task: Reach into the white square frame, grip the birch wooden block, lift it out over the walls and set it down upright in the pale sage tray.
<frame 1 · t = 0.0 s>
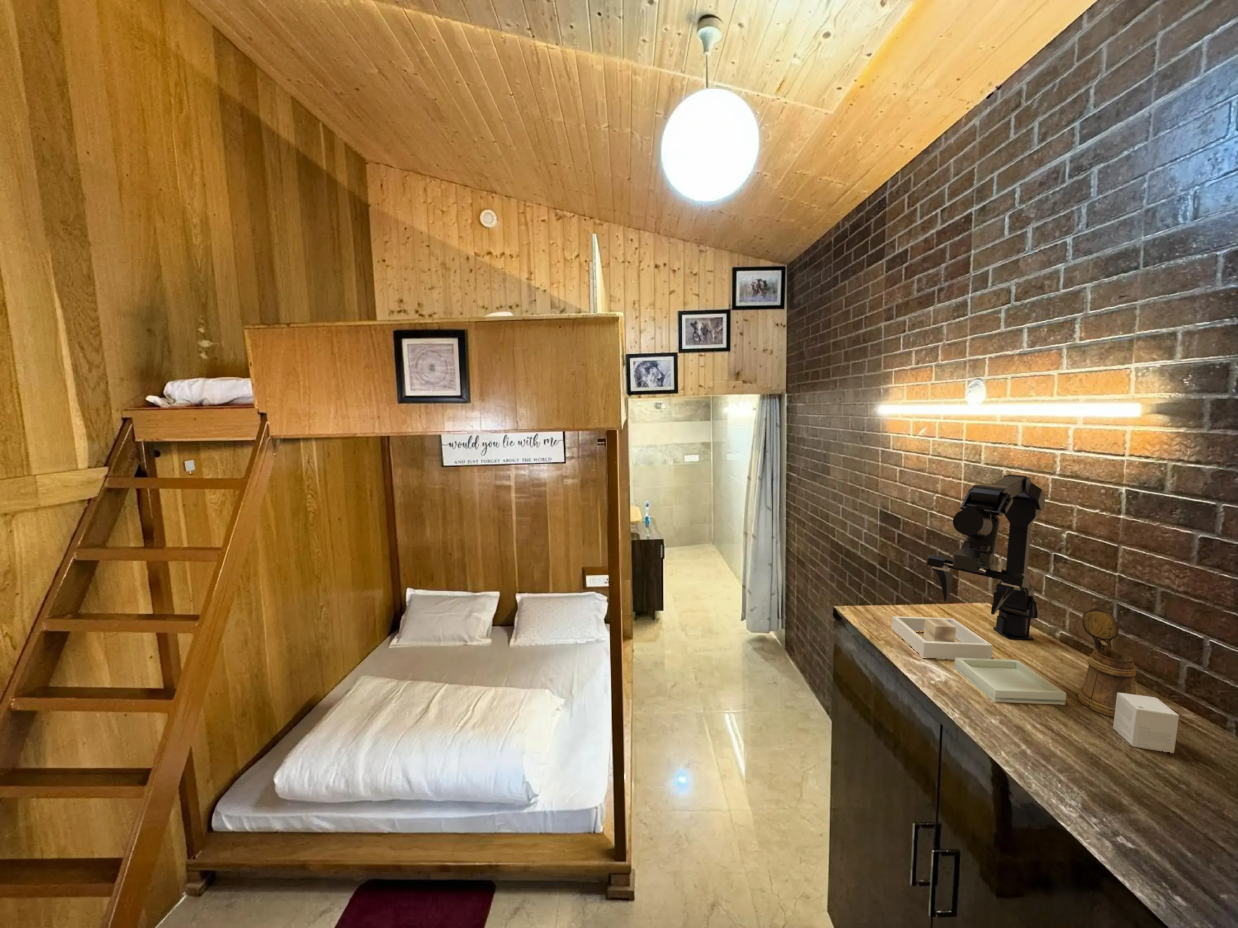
hand: (968, 607, 116), 15 cm above the cabinet, tool pointing down, fingers open, 9 cm apart
sage tray: (1006, 684, 113), on the cabinet
product box: (1142, 741, 94), on the cabinet
wooden mug: (1102, 702, 107), on the cabinet
birch block: (938, 645, 132), resting in white square frame
white square frame: (938, 644, 132), on the cabinet
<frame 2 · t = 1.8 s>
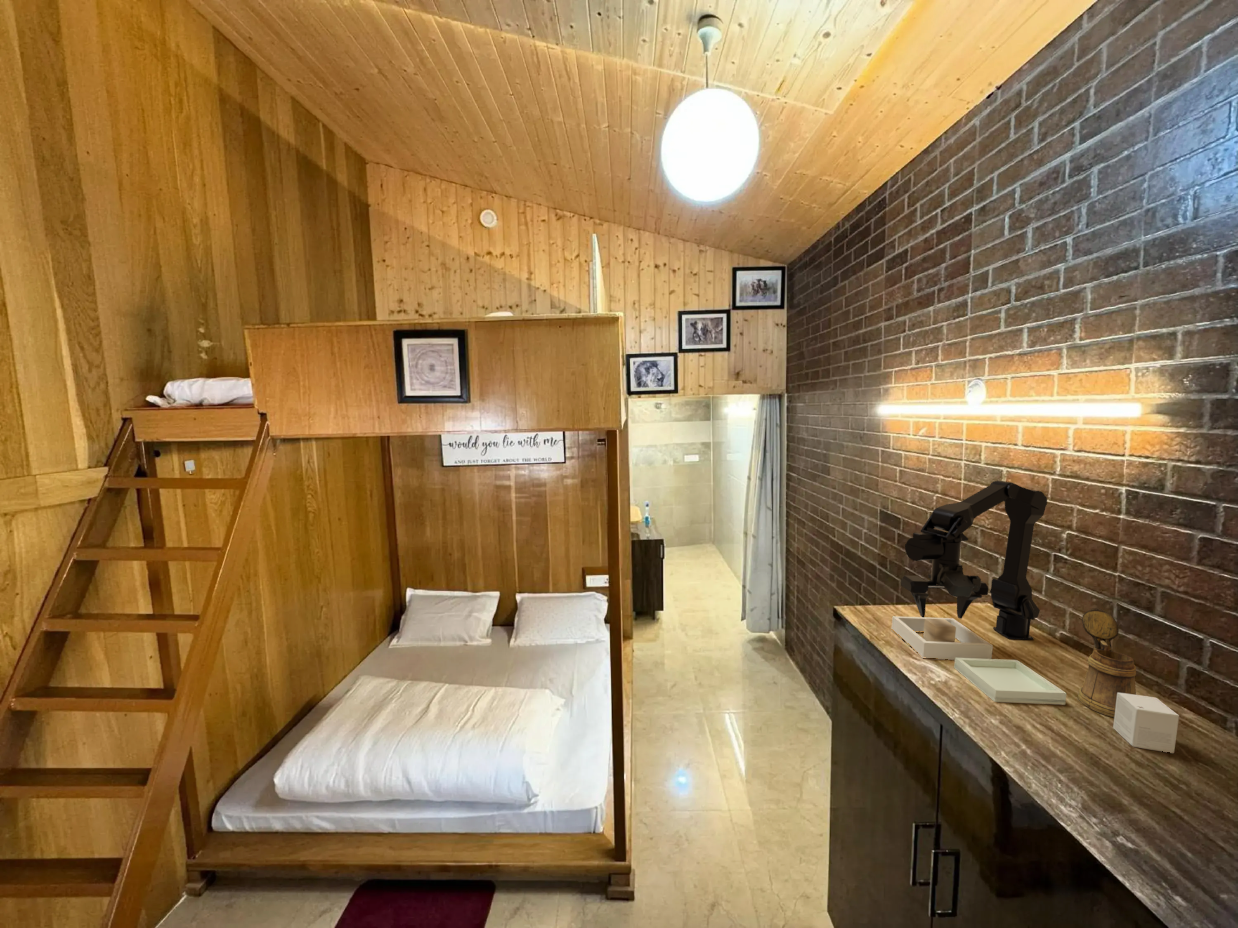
hand: (940, 617, 131), 7 cm above the cabinet, tool pointing down, fingers open, 9 cm apart
nothing on the cabinet moved.
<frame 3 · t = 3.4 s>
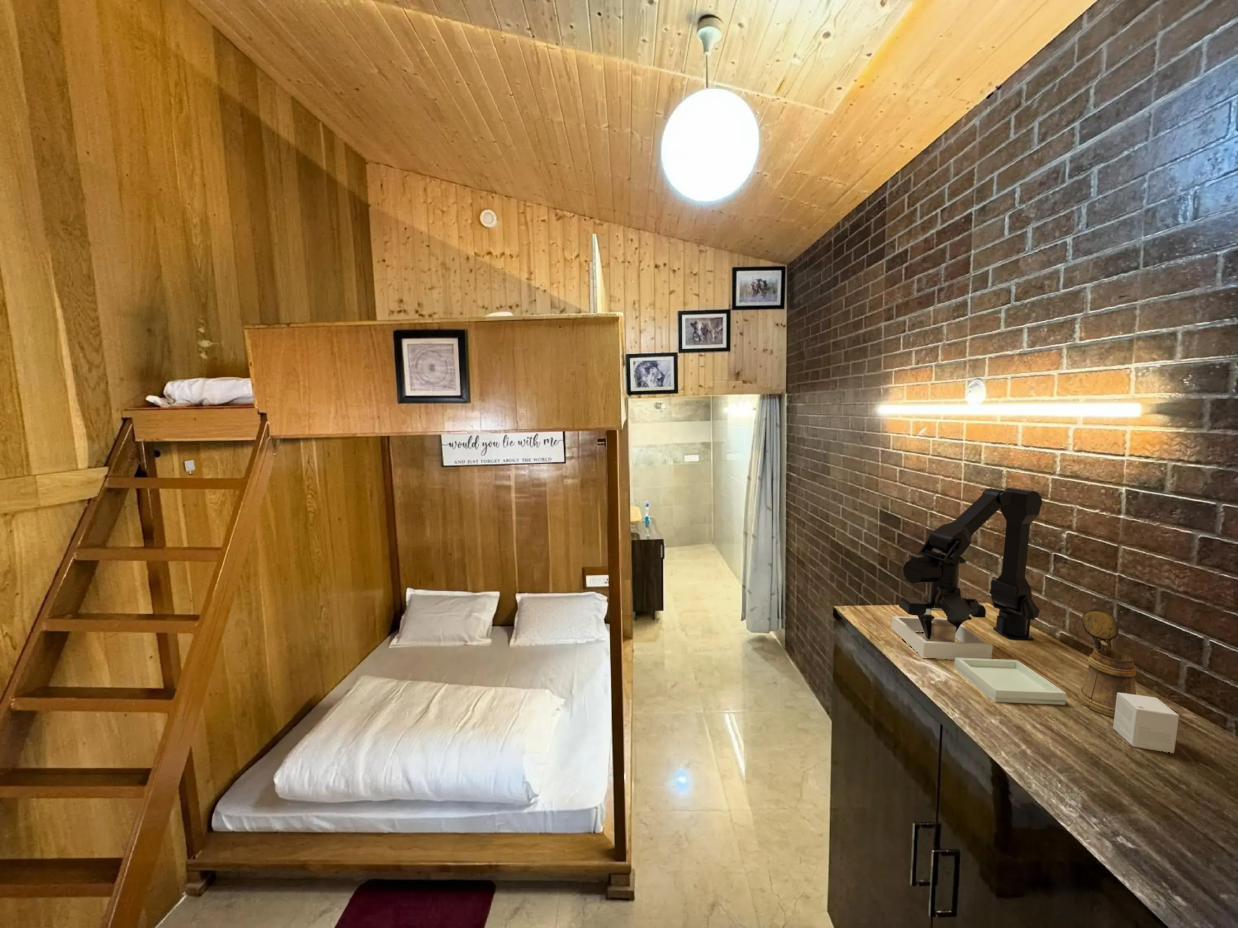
hand: (938, 639, 132), 2 cm above the cabinet, tool pointing down, fingers closed on birch block, 5 cm apart
birch block: (938, 644, 132), resting in white square frame, touching gripper
everything else where it was.
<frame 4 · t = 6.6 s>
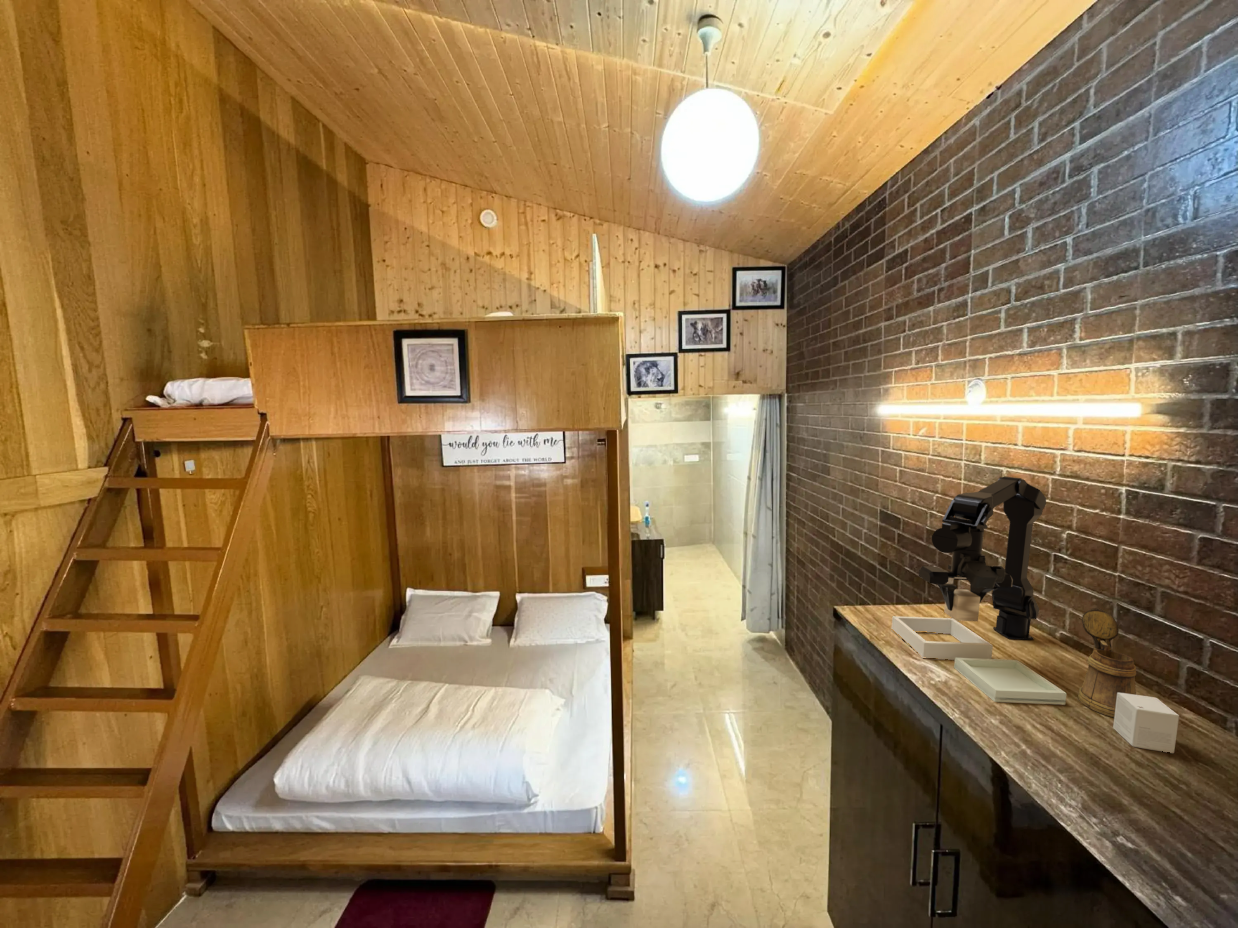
hand: (961, 610, 124), 12 cm above the cabinet, tool pointing down, fingers closed on birch block, 5 cm apart
birch block: (960, 616, 125), point 10 cm above the cabinet, touching gripper
everything else where it was.
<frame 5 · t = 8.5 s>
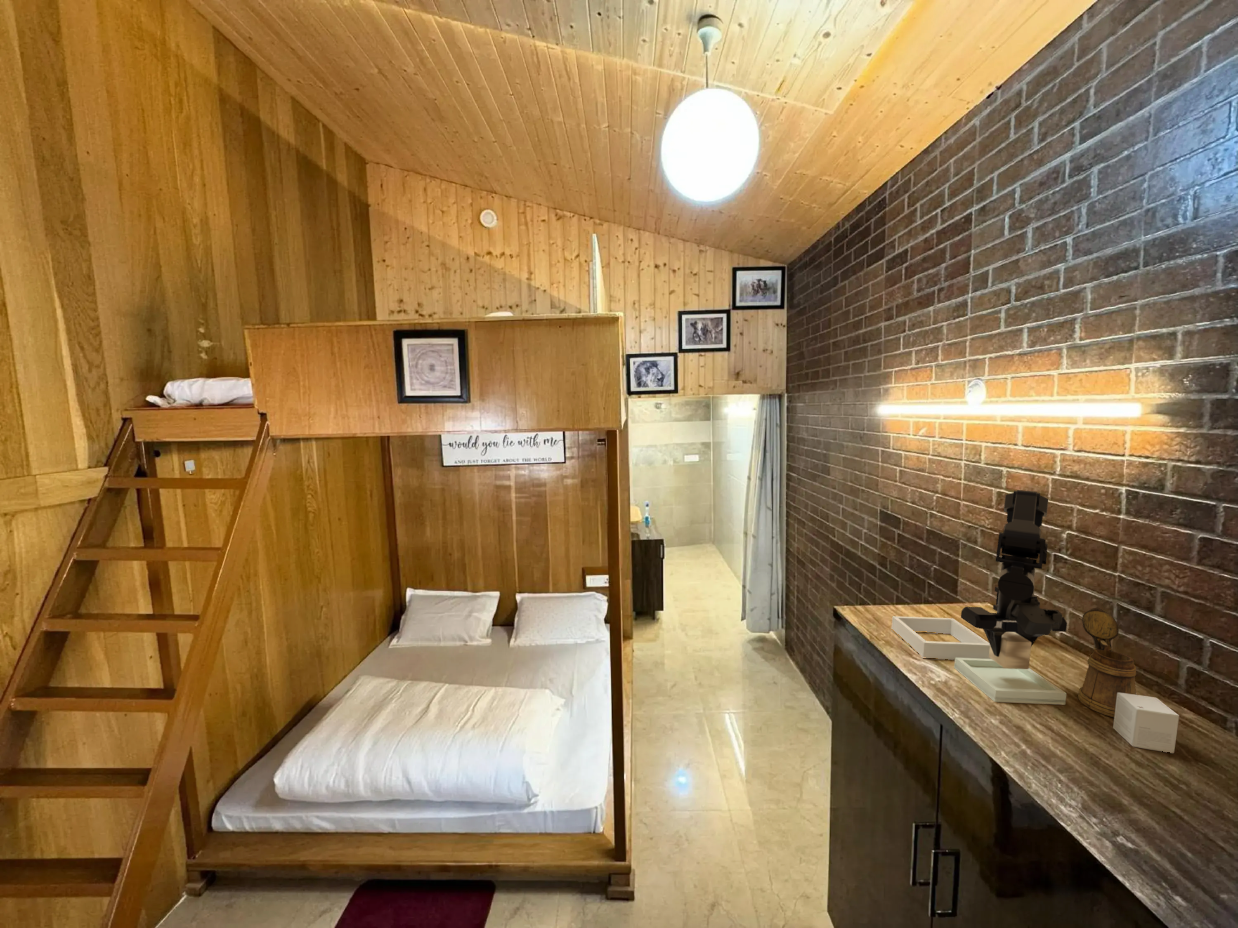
hand: (1008, 656, 112), 7 cm above the cabinet, tool pointing down, fingers closed on birch block, 5 cm apart
birch block: (1008, 662, 112), point 5 cm above the cabinet, touching gripper
everything else where it was.
when the fingers open (3 cm above the cabinet, at t = 9.9 s): birch block stays where it is, resting on sage tray.
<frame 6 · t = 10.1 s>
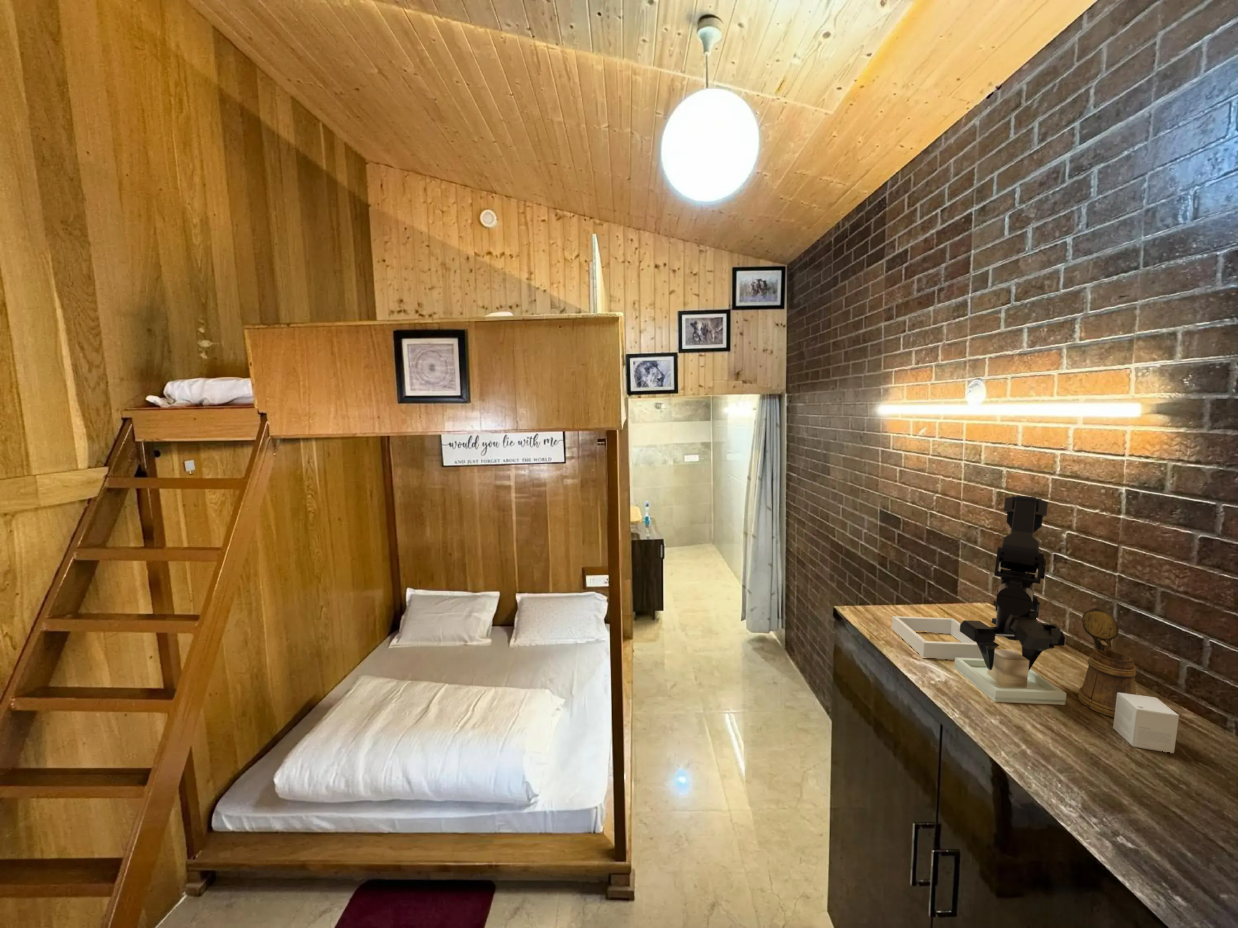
hand: (1007, 669, 112), 3 cm above the cabinet, tool pointing down, fingers open, 7 cm apart
birch block: (1006, 680, 113), point 1 cm above the cabinet, touching sage tray
everything else where it was.
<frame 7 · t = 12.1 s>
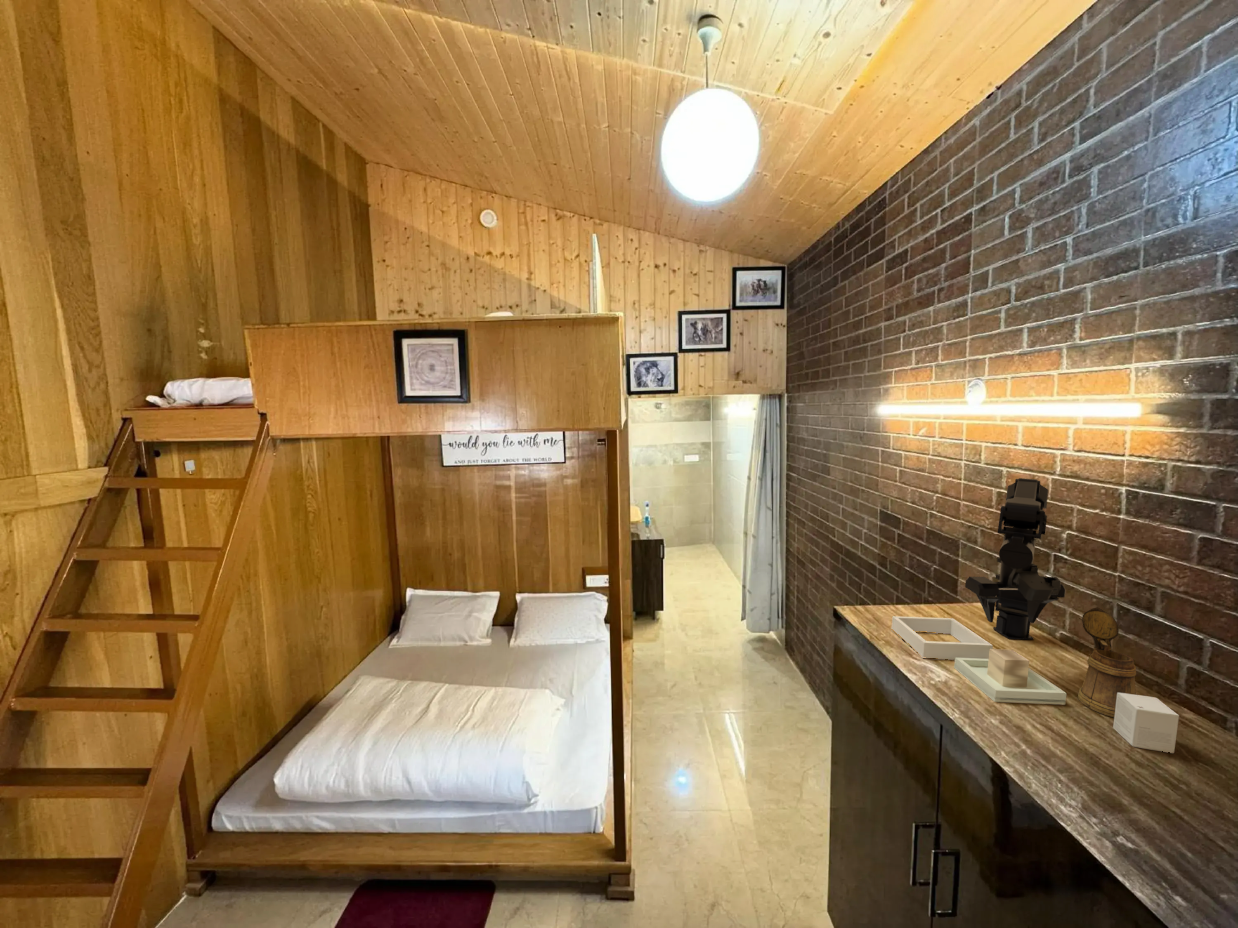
hand: (1010, 621, 119), 11 cm above the cabinet, tool pointing down, fingers open, 9 cm apart
nothing on the cabinet moved.
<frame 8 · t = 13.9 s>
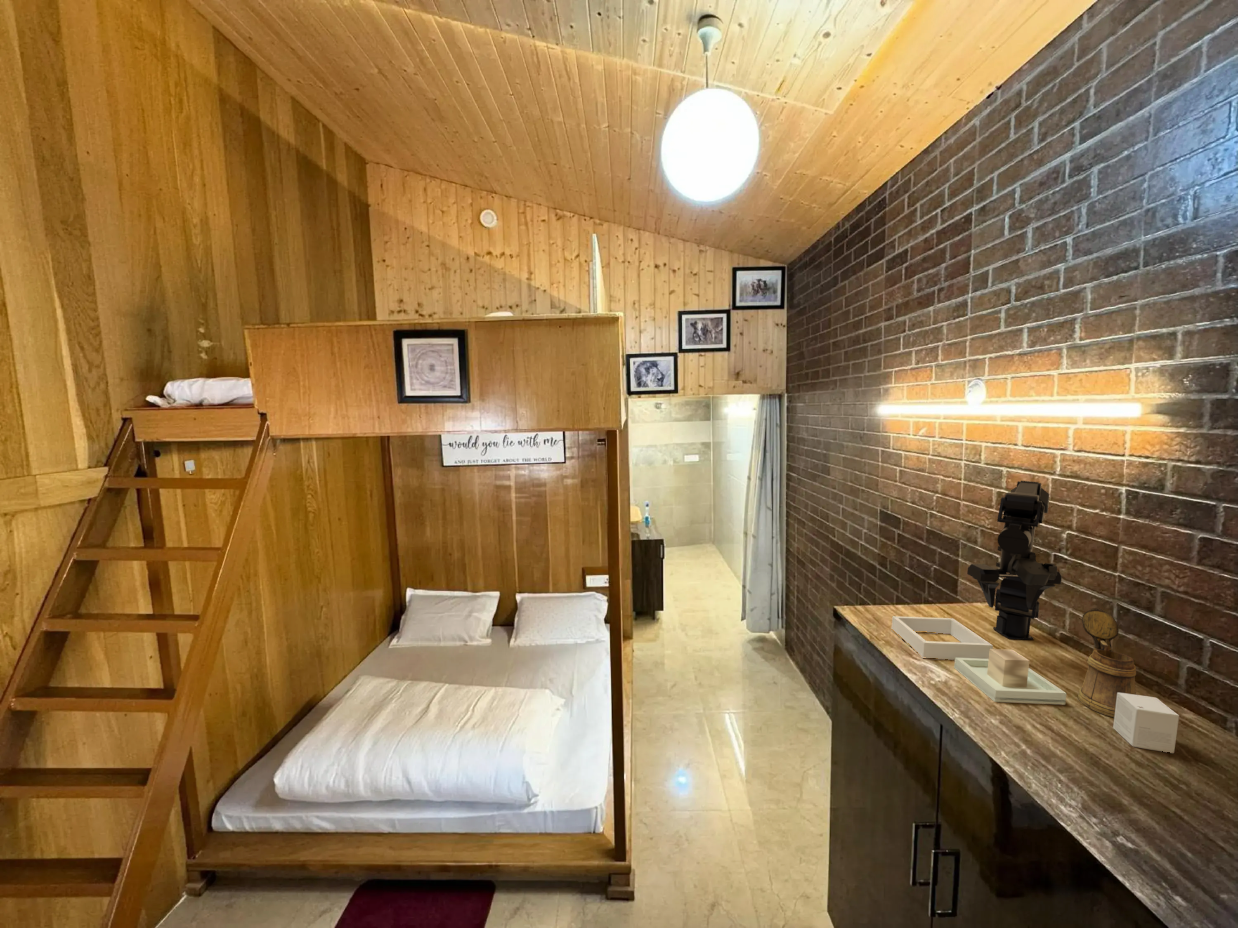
hand: (1010, 607, 126), 12 cm above the cabinet, tool pointing down, fingers open, 9 cm apart
nothing on the cabinet moved.
at the end: birch block inside the target area on the sage tray (0.0 cm from its centre), point 1.0 cm above the sage tray's base; birch block tilted 0°; the gripper is holding nothing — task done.
